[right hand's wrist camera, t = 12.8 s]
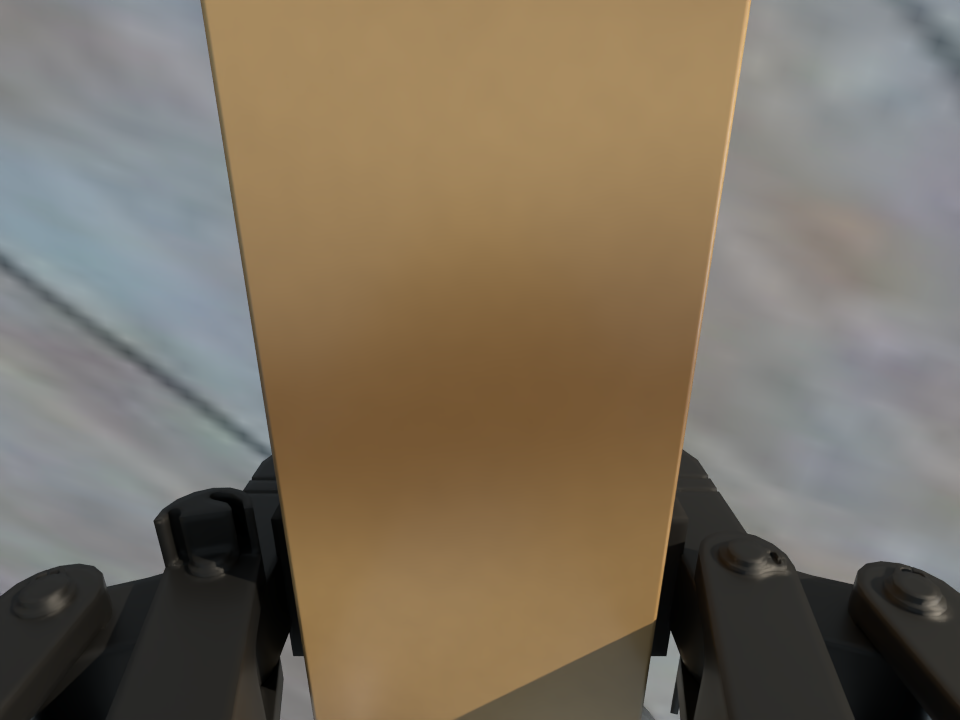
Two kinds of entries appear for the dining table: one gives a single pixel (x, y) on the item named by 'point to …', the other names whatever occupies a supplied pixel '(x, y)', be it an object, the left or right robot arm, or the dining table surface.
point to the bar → (476, 329)
